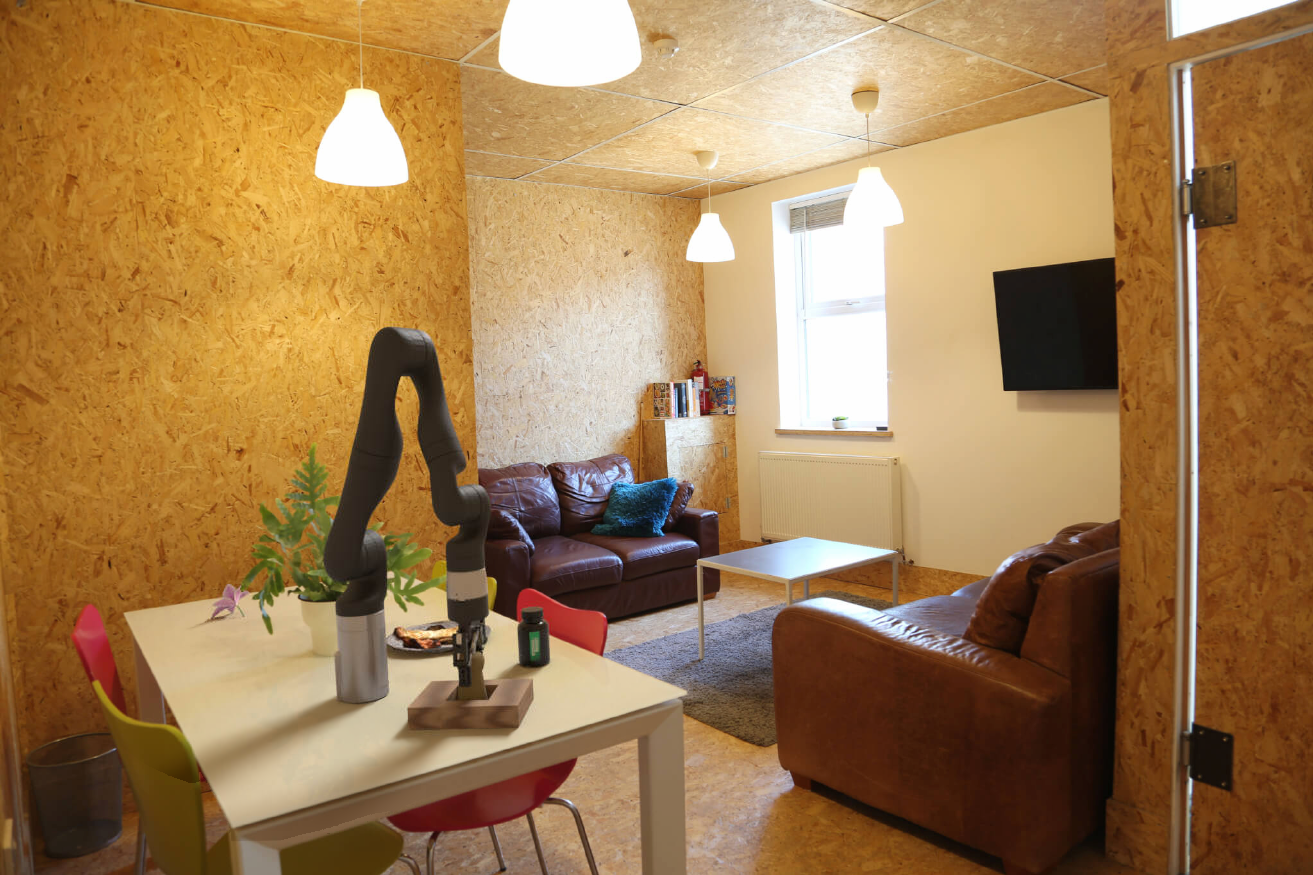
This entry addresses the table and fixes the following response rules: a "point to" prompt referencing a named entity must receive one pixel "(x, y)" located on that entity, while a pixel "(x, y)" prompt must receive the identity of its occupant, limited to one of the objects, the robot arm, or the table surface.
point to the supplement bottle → (533, 638)
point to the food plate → (425, 637)
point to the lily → (229, 600)
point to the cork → (474, 680)
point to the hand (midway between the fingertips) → (471, 678)
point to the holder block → (471, 706)
